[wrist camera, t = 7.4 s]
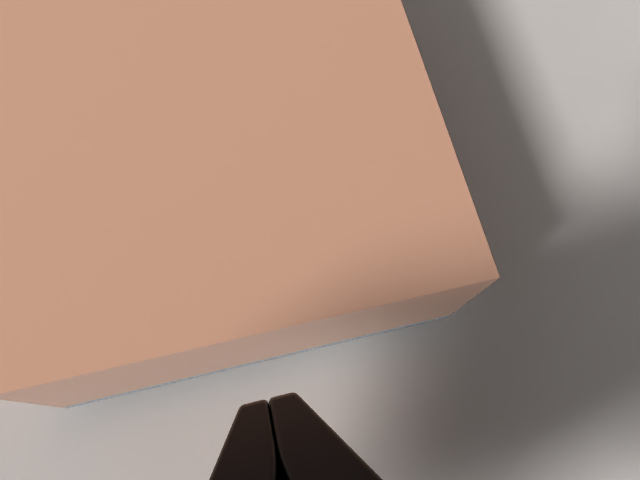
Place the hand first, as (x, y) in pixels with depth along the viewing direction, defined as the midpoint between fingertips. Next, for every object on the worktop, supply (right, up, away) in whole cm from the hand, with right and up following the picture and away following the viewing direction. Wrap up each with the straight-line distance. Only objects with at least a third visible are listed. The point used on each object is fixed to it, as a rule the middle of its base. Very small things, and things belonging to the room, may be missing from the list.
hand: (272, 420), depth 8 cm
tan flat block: (-1, 0, +4) cm, 4 cm away
